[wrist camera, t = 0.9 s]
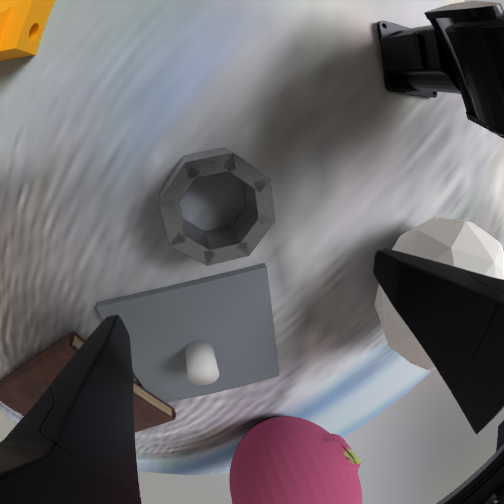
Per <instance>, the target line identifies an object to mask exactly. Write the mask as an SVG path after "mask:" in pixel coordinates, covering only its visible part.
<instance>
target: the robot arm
mask: <svg viewBox="0 0 504 504" xmlns="http://www.w3.org/2000/svg"><path fill="white" fill-rule="evenodd" d="M425 15H426V17H427V19H429V20H430V22H431V24H432V25H429V26H423V27H416V28H407V27H404V26H401V25H397V24H394V23H390V22H386V21H379V22H377V29H378V35H379V41H380V47H381V54H382V61H383V68H384V77H385V86H386V89H387V90H388V91H389V92H395V93H404V94H412V95H419V96H426V97H433V98H435V97H437V92H448V93H458V94H461V95H462V98H463V101H464V104H465V108H466V114H467V118H468V119H469V120H471V121H473V122H475V123H477V124H479V125H480V126H482V127H484V128H486V129H488V130H489V131H491V132H492V133H495V134H497V135H498V136H500V137H502V138H504V11H503V8H502V6H501V4H500V3H493V2H481V1H480V2H479V1H471V2H462V3H455V4H450V5H447V6H443V7H440V8H437V9H434V10H431V11H428V12H425ZM382 25H383V26H382ZM383 27H384V28H383ZM391 85H392V88H391ZM373 273H374V276H375V278H376V279H377V281H378V283H379V284H380V286H381V287H382V289H383V291H384V292H385V294H386V296H387V297H388V299H389V301H390V302H391V304H392V305H393V307H394V308H395V310H396V311H397V313H398V314H399V315H400V317H401V318H402V319H403V321H404V322H405V324H406V325H407V326H408V328H409V329H410V330H411V332H412V333H413V335H414V336H415V338H416V339H417V340H418V342H419V343H420V345H421V346H422V348H423V349H424V351H425V352H426V354H427V355H428V356H429V358H430V359H431V361H432V362H433V364H434V366H435V367H436V369H437V370H438V372H439V373H440V375H441V376H442V378H443V379H444V381H445V383H446V384H447V386H448V387H449V389H450V390H451V392H452V394H453V396H454V397H455V399H456V400H457V402H458V404H459V406H460V407H461V409H462V411H463V413H464V414H465V416H466V418H467V420H468V421H469V423H470V425H471V427H472V428H473V430H474V432H475V433H476V434H478V433H479V432H480V431H481V430H482V429H483V428H484V427H485V426H486V425H487V424H488V423H489V422H490V421H491V420H492V419H493V418H494V417H495V416H496V415H497V414H498V413H499V412H500V411H501V410H502V409H503V408H504V280H503V279H498V278H494V277H490V276H487V275H483V274H479V273H476V272H472V271H469V270H468V271H467V270H465V269H462V268H458V267H455V266H451V265H448V264H444V263H440V262H437V261H433V260H429V259H426V258H422V257H418V256H414V255H411V254H407V253H403V252H399V251H395V250H391V249H387V248H384V249H381V250H378V251H376V253H375V259H374V268H373ZM0 504H141V497H140V490H139V482H138V474H137V462H136V449H135V432H134V381H133V368H132V356H131V343H130V336H129V333H128V331H127V329H126V327H125V325H124V323H123V321H122V319H121V317H120V316H119V315H117V314H116V315H111V316H107V317H106V318H105V319H104V320H103V321H102V323H101V324H100V325H99V326H98V327H97V328H96V329H95V331H94V332H93V333H92V334H91V335H90V336H89V338H88V339H87V340H86V341H85V342H84V343H83V345H82V346H81V347H80V348H79V349H78V351H77V352H76V353H75V354H74V355H73V357H72V358H71V359H70V360H69V361H68V363H67V364H66V365H65V366H64V367H63V369H62V370H61V371H60V372H59V374H58V375H57V376H56V377H55V379H54V380H53V381H52V383H51V384H50V386H48V388H47V389H46V390H45V391H44V393H43V394H42V395H41V397H40V398H39V399H38V400H37V402H36V403H35V404H34V405H33V406H32V408H31V409H30V410H29V411H28V412H27V413H26V415H25V416H24V417H23V418H22V419H21V420H20V421H19V423H18V424H17V425H16V426H15V427H14V428H13V430H12V431H11V432H10V433H9V434H8V436H7V437H6V438H5V439H4V440H3V441H2V442H0ZM437 504H504V421H503V422H502V423H501V424H500V425H499V426H498V439H497V449H496V453H495V454H494V455H493V456H492V457H491V458H490V459H489V460H488V461H487V462H486V463H485V464H484V465H483V466H482V467H480V468H479V469H478V470H477V471H476V472H475V473H474V474H473V475H472V476H470V477H469V478H468V479H467V480H466V481H465V482H464V483H462V484H461V485H460V486H459V487H458V488H456V489H455V490H454V491H453V492H451V493H450V494H449V495H447V496H446V497H445V498H443V499H442V500H441V501H439V502H438V503H437Z"/></svg>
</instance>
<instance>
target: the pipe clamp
mask: <svg viewBox="0 0 504 504" xmlns="http://www.w3.org/2000/svg"><path fill="white" fill-rule="evenodd" d="M54 2H55V0H0V61H3V60H8V59H14V58H20V57H26V56H34V55H36V53H37V49H38V46H39V43H40V39H41V36H42V33H43V31H44V28H45V25H46V22H47V19H48V17H49V14H50V12H51V9H52V7H53V4H54Z"/></svg>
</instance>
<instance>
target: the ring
mask: <svg viewBox="0 0 504 504" xmlns="http://www.w3.org/2000/svg"><path fill="white" fill-rule="evenodd" d="M227 171H229V172H231V173H232V174H234V175H235V176H237V177H238V178H240V179H241V180H243V181H244V186H245V193H246V200H247V205H246V207H245V208H244V209H243V211H242V212H241V214H240V215H239V216H238V218H237V219H236V220H235V222H234V223H233V225H232V226H229V227H225V228H220V229H216V230H211V231H207V232H205V231H203V230H201V229H199V228H198V227H196V226H194V225H193V224H191V223H189V222H187V221H186V220H184V219H183V218H182V214H181V209H180V205H179V202H180V200H181V199H182V197H183V196H184V194H185V193H186V191H187V190H188V188H189V187H190V185H191V184H192V182H193V181H194V179H195V178H198V177H202V176H207V175H212V174H217V173H222V172H227ZM159 207H160V211H161V215H162V219H163V223H164V227H165V230H166V234H167V238H168V241H169V245H170V246H171V247H173V248H175V249H177V250H179V251H180V252H182V253H184V254H186V255H188V256H190V257H192V258H194V259H195V260H197V261H199V262H201V263H203V264H205V265H207V266H208V265H212V264H216V263H221V262H225V261H229V260H233V259H237V258H242V257H246V256H249V255H250V254H251V252H252V251H253V250H254V248H255V247H256V246H257V245H258V243H259V242H260V241H261V239H262V238H263V237H264V235H265V234H266V233H267V231H268V230H269V229H270V227H271V226H272V225H273V223H274V222H275V218H274V209H273V199H272V190H271V181H270V179H269V178H268V177H267V176H265V175H264V174H262V173H261V172H260V171H258V170H257V169H256V168H254V167H253V166H251V165H250V164H249V163H247V162H246V161H244V160H243V159H242V158H240V157H239V156H237V155H236V154H235V153H233V152H231V151H230V150H228V149H226V148H220V149H215V150H210V151H205V152H200V153H195V154H190V155H186V156H183V158H182V159H181V161H180V162H179V164H178V165H177V167H176V168H175V170H174V171H173V173H172V174H171V176H170V177H169V179H168V180H167V182H166V183H165V185H164V187H163V188H162V190H161V193H160V198H159Z"/></svg>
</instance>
